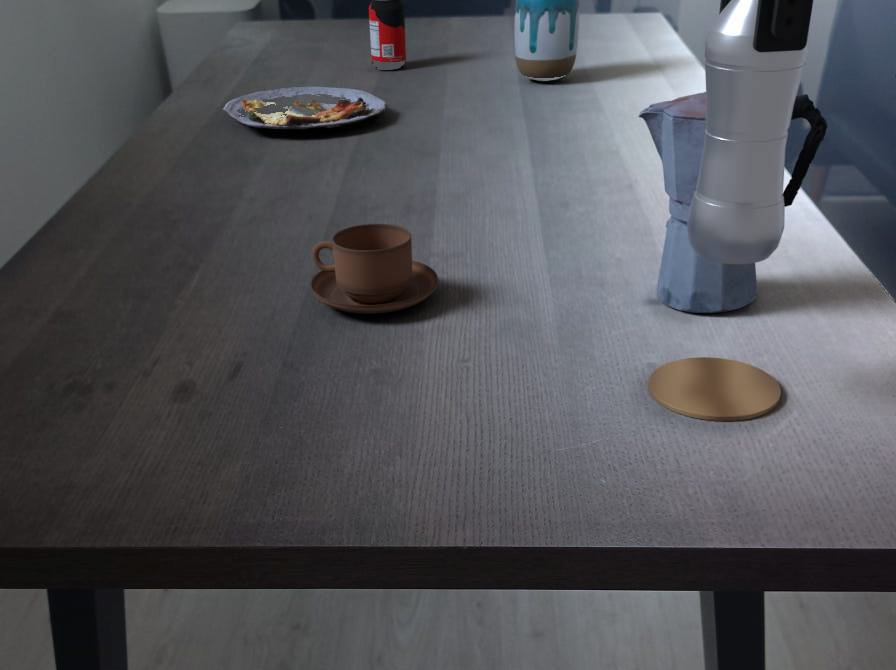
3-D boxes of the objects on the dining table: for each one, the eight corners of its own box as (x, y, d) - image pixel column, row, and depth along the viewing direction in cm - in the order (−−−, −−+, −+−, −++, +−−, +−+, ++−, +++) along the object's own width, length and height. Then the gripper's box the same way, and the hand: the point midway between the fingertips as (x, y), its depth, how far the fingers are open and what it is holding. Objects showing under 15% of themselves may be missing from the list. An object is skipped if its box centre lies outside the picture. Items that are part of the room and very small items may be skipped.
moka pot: (626, 274, 102) (643, 58, 91) (790, 281, 99) (828, 59, 88) (622, 313, 94) (640, 82, 83) (801, 322, 91) (843, 83, 80)
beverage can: (406, 71, 187) (403, -2, 181) (371, 72, 187) (367, 0, 181) (406, 64, 193) (404, -7, 186) (372, 65, 193) (368, -6, 186)
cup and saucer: (307, 327, 94) (301, 262, 91) (317, 277, 104) (312, 217, 101) (439, 322, 94) (437, 257, 90) (437, 273, 104) (435, 213, 101)
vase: (537, 90, 170) (540, -39, 160) (501, 79, 178) (502, -45, 168) (589, 81, 175) (595, -46, 164) (552, 71, 182) (556, -51, 172)
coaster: (755, 358, 85) (756, 353, 85) (799, 417, 77) (800, 412, 77) (635, 365, 85) (635, 360, 85) (666, 425, 77) (667, 420, 77)
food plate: (409, 126, 154) (408, 101, 152) (260, 150, 146) (257, 124, 144) (344, 94, 173) (343, 72, 171) (209, 114, 165) (206, 91, 163)
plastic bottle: (770, 280, 72) (820, -41, 61) (672, 268, 74) (704, -43, 63) (785, 249, 76) (834, -54, 66) (693, 238, 79) (726, -55, 68)
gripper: (947, -326, 50) (873, 63, 60) (812, -294, 65) (770, 16, 75) (794, -320, 50) (745, 70, 60) (694, -289, 65) (667, 21, 75)
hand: (759, 37), depth 67 cm, fingers closed on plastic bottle, 6 cm apart
